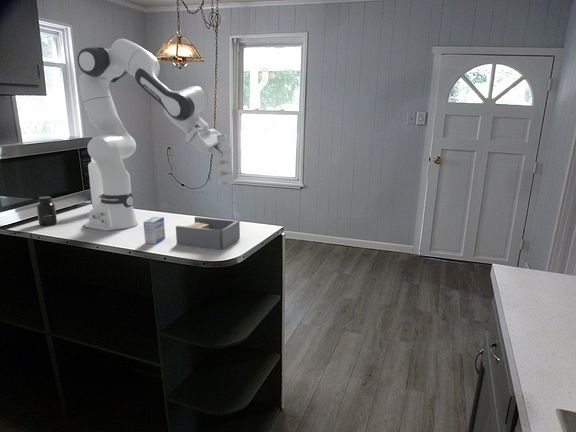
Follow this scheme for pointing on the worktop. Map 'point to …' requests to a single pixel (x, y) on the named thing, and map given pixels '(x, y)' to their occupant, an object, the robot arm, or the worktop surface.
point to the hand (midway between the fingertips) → (225, 154)
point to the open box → (209, 233)
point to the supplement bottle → (46, 212)
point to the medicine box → (154, 230)
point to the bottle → (95, 183)
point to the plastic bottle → (224, 162)
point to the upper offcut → (199, 225)
